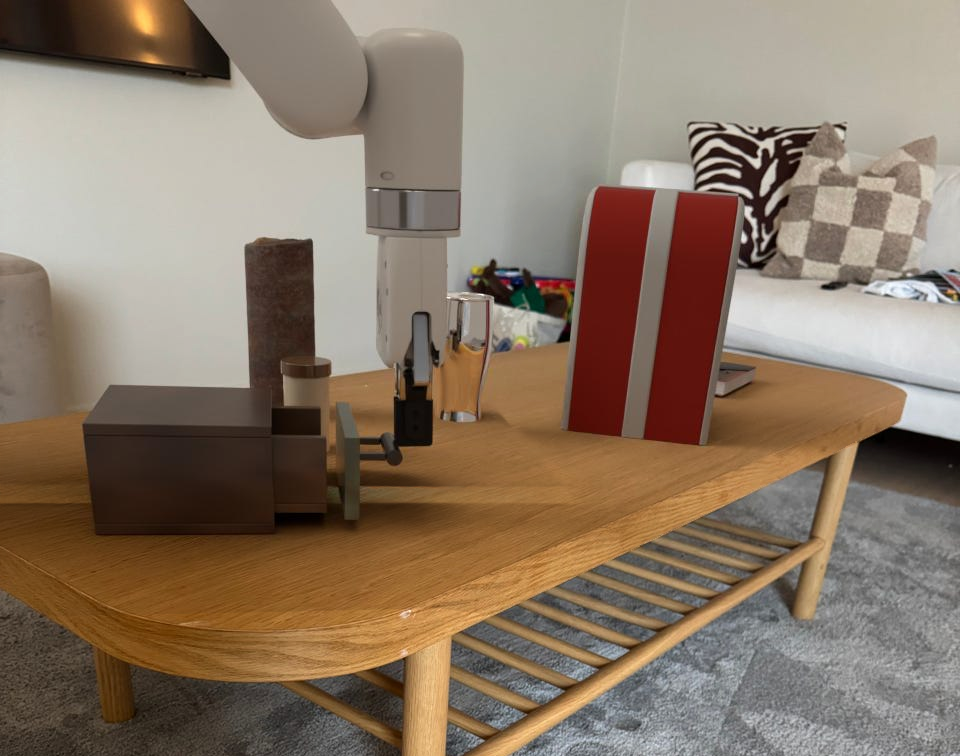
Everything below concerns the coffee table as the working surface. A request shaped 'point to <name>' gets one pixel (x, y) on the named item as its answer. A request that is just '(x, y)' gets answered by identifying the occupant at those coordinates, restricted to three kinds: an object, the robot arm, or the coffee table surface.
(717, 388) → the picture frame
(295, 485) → the drawer
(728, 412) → the coffee table surface
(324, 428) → the spice jar
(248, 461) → the cabinet
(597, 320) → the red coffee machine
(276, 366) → the candle
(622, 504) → the coffee table surface
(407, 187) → the robot arm
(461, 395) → the beer glass
